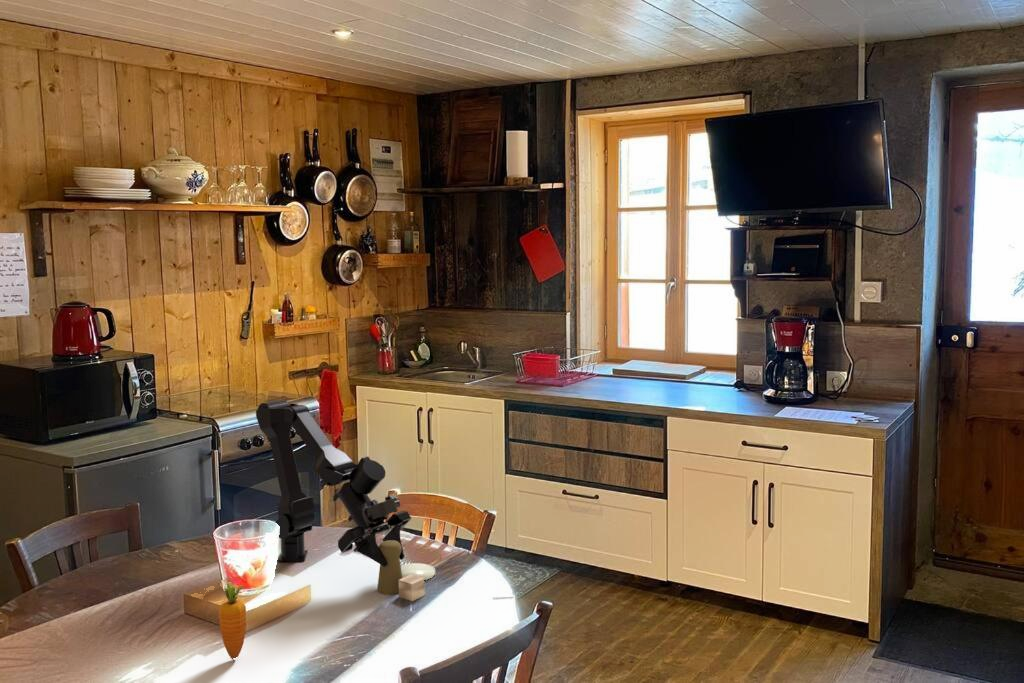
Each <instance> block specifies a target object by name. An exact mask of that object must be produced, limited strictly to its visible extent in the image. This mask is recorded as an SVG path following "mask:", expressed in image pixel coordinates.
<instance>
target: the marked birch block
mask: <svg viewBox="0 0 1024 683" xmlns="http://www.w3.org/2000/svg"><path fill="white" fill-rule="evenodd" d="M425 594H426V593H425V581H424V578H421V577H418V576H415V575H409V576H406V577H404V578H402V579H399V593H398V598H401V599H403V600H407V601H410V602H414V601H415V600H419V599H420V598H422V597H424V596H425Z"/></svg>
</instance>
